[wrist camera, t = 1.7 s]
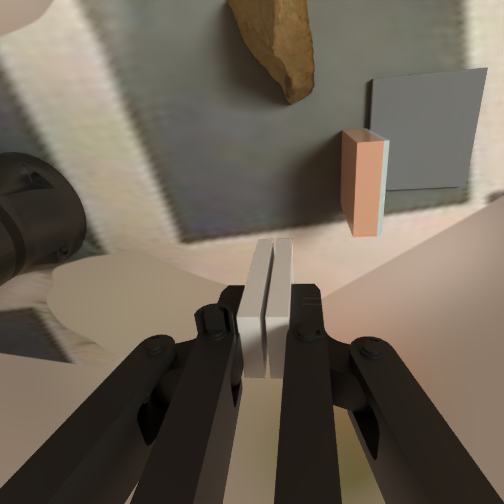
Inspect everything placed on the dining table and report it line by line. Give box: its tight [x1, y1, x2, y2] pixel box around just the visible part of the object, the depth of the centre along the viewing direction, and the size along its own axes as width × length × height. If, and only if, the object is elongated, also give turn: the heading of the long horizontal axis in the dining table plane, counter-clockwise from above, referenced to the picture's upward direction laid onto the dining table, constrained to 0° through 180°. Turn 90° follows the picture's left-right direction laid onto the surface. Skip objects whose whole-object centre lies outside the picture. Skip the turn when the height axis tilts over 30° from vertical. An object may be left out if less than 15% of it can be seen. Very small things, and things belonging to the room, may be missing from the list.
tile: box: [340, 128, 390, 237], centre depth 32 cm, size 2×8×10 cm, turn 5°
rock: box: [227, 0, 315, 104], centre depth 30 cm, size 11×9×10 cm
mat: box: [369, 67, 488, 190], centre depth 33 cm, size 10×11×1 cm
